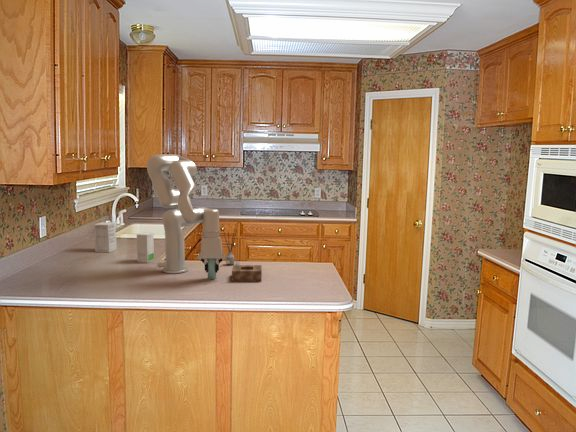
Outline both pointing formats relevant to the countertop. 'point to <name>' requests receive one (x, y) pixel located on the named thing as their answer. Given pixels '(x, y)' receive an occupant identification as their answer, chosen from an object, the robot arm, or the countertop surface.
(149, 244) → the skincare box
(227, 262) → the reed diffuser
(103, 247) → the supplement box
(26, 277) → the countertop surface
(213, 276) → the peg
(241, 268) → the socket block
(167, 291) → the countertop surface
